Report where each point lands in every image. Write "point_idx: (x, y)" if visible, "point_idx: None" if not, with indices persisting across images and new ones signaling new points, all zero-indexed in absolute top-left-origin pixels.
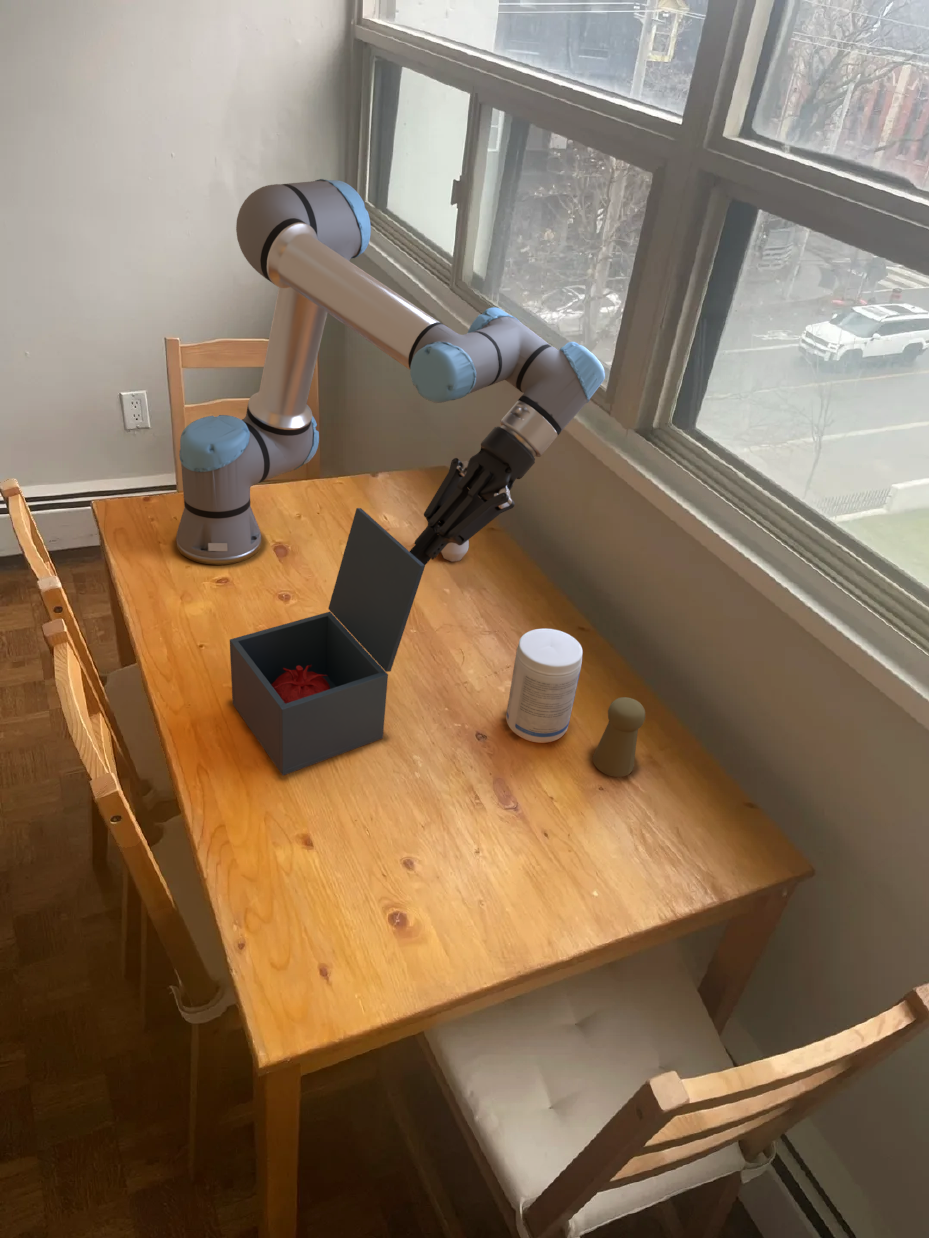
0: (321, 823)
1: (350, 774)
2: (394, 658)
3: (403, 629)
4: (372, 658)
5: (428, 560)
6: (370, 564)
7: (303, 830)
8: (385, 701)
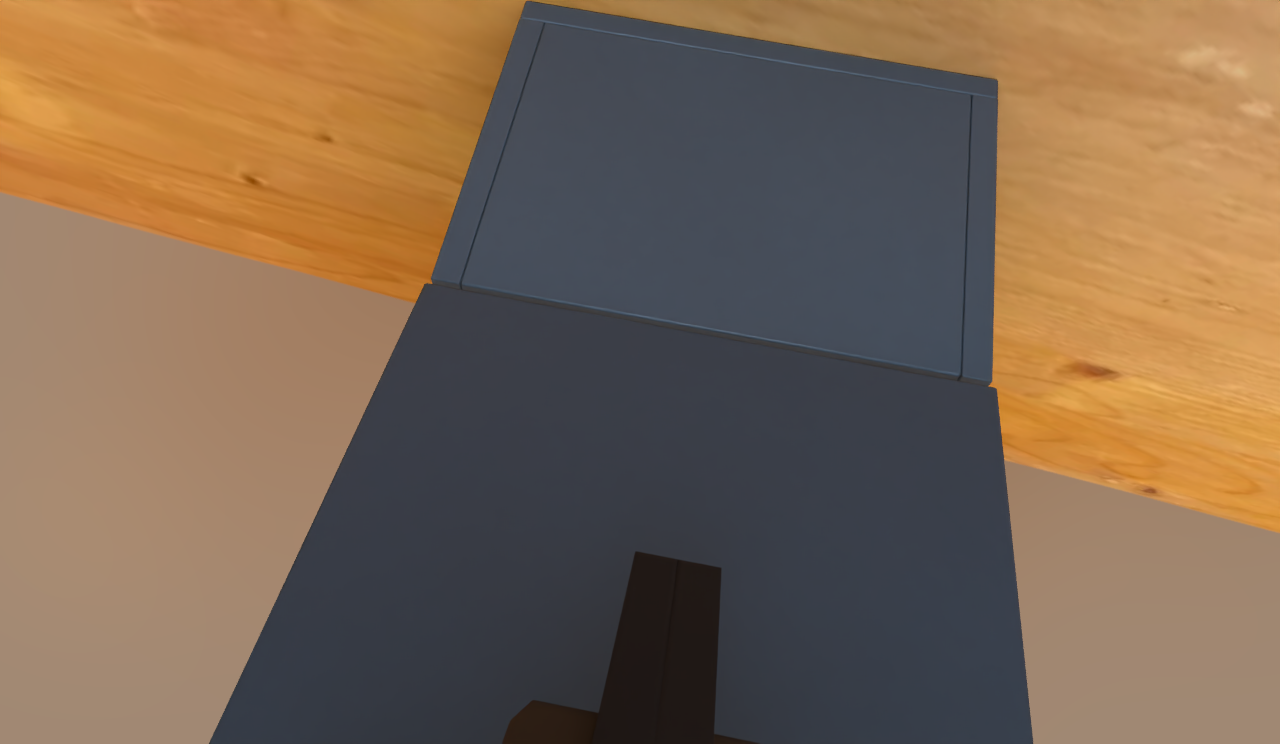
0: (1084, 337)
1: (1026, 226)
2: (1002, 449)
3: (1018, 609)
4: (852, 357)
5: (715, 680)
6: None
7: (1060, 361)
8: (994, 246)
